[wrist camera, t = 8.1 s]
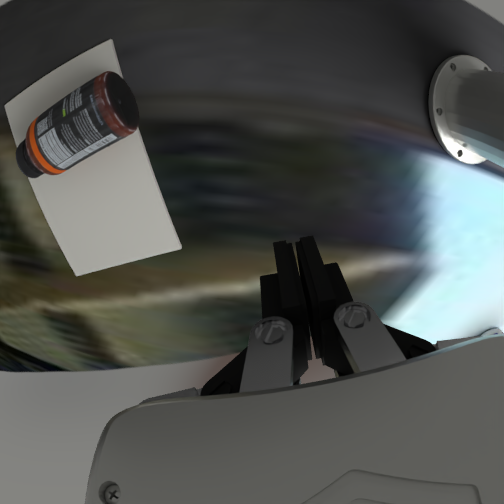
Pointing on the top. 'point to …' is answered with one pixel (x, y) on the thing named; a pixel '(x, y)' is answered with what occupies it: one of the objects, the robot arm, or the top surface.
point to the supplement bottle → (79, 126)
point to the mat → (96, 181)
